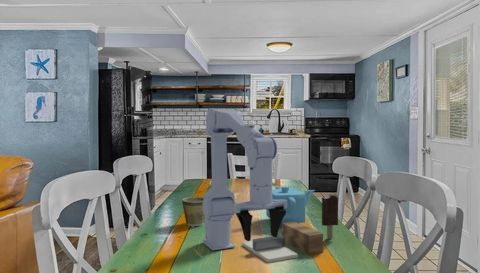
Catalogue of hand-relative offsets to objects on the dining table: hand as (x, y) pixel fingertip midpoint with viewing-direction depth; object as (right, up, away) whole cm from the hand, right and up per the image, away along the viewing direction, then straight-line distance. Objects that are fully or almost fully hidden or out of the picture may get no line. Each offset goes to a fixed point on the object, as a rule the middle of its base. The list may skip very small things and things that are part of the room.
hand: (260, 238), depth 94 cm
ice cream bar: (+25, -10, +33) cm, 43 cm away
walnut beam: (+14, -10, +26) cm, 31 cm away
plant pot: (-22, -9, +53) cm, 58 cm away
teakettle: (+12, -9, +54) cm, 57 cm away
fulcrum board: (+4, -10, +20) cm, 23 cm away
